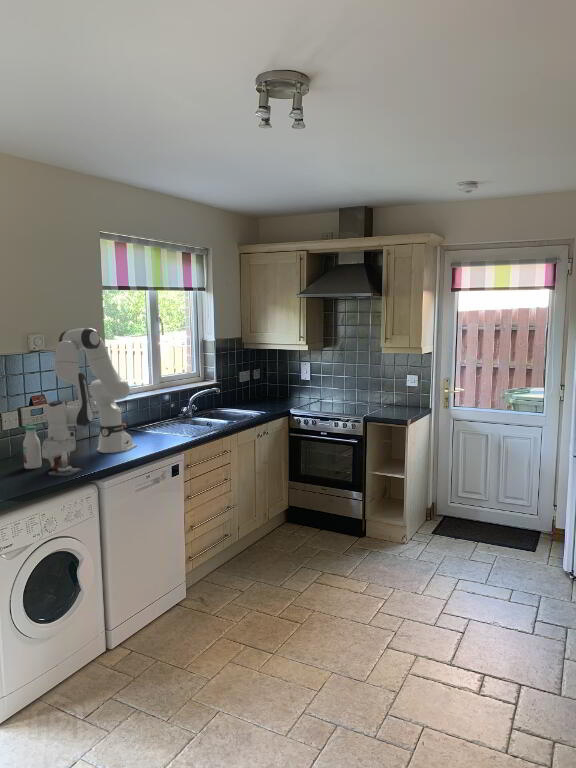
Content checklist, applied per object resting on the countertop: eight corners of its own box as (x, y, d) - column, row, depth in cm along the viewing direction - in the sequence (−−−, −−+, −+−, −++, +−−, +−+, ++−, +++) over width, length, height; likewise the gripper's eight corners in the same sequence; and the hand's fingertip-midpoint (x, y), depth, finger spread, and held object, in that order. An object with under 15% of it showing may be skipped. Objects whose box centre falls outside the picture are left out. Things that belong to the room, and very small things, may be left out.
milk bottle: (44, 465, 280) (41, 424, 278) (38, 469, 272) (35, 427, 270) (28, 465, 279) (25, 425, 278) (21, 469, 272) (18, 428, 270)
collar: (59, 465, 277) (58, 455, 277) (69, 466, 276) (69, 456, 275) (50, 468, 272) (50, 458, 271) (61, 469, 270) (60, 459, 269)
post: (63, 469, 270) (61, 447, 269) (81, 470, 267) (79, 448, 266) (48, 474, 260) (47, 452, 259) (67, 475, 257) (65, 453, 256)
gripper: (48, 439, 261) (50, 469, 263) (77, 431, 281) (79, 459, 282) (37, 439, 263) (39, 468, 264) (66, 431, 283) (68, 458, 284)
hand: (60, 463), depth 273 cm, fingers open, 8 cm apart
